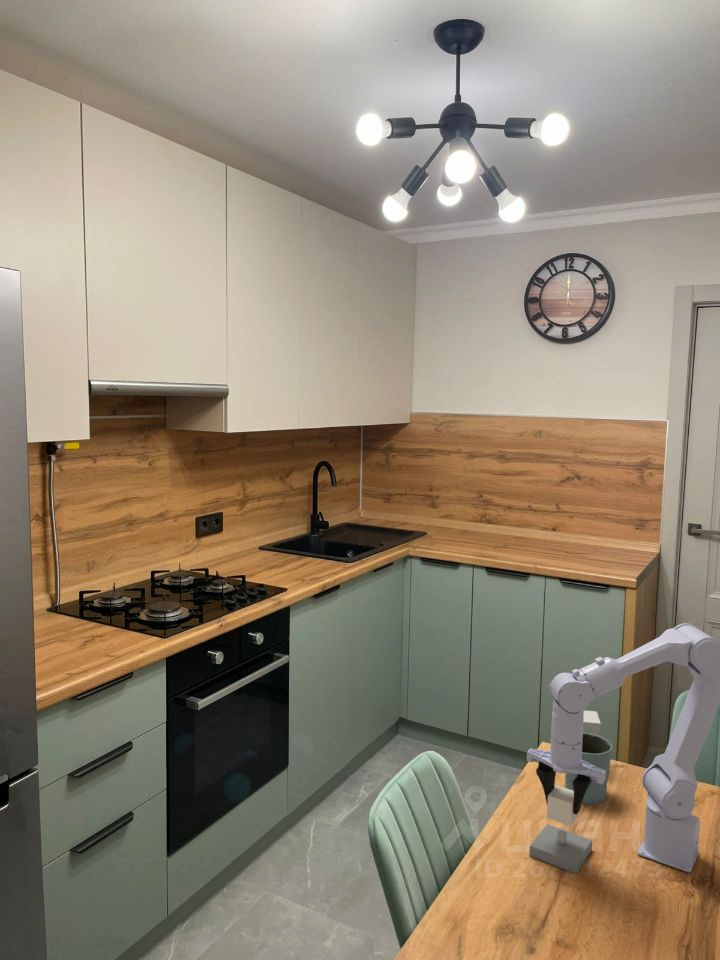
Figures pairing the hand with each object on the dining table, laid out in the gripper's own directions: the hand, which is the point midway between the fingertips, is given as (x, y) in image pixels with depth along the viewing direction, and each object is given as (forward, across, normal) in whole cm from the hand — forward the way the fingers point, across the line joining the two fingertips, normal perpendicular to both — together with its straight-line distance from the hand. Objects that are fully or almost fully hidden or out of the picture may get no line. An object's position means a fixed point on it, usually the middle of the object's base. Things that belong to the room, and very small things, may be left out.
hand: (563, 807), depth 138 cm
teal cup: (+9, -3, +24) cm, 26 cm away
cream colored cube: (+2, 0, 0) cm, 2 cm away
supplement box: (+9, -8, +36) cm, 38 cm away
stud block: (+9, 0, 0) cm, 9 cm away
